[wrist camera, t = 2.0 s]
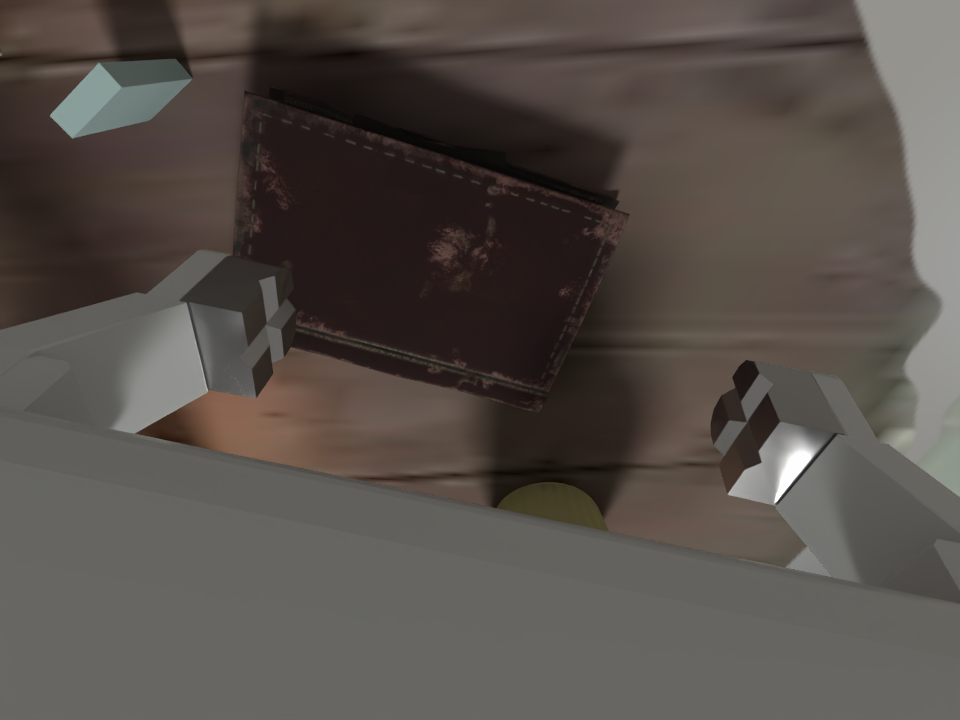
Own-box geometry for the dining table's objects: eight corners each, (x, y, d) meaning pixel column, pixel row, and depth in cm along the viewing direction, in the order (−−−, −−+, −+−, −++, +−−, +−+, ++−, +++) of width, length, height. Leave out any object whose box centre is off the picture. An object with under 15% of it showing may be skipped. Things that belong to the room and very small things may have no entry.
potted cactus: (532, 589, 61) (567, 986, 36) (441, 515, 56) (402, 927, 30) (649, 528, 56) (788, 941, 30) (562, 440, 50) (642, 859, 24)
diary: (532, 388, 48) (536, 423, 44) (250, 313, 45) (225, 342, 41) (621, 186, 39) (637, 205, 35) (273, 71, 35) (244, 76, 31)
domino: (149, 120, 37) (72, 138, 30) (132, 101, 36) (49, 115, 29) (192, 78, 35) (121, 87, 28) (175, 58, 35) (98, 62, 28)
